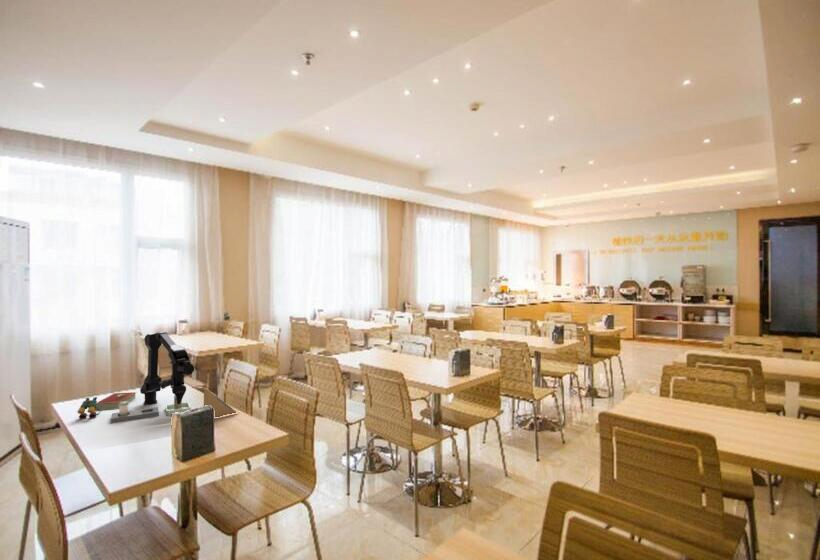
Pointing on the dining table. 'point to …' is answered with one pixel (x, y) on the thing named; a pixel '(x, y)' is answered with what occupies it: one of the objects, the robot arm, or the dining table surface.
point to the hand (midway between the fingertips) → (178, 401)
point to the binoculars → (91, 405)
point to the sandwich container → (217, 404)
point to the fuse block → (135, 414)
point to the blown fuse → (177, 406)
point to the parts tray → (171, 410)
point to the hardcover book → (115, 400)
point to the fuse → (123, 408)
